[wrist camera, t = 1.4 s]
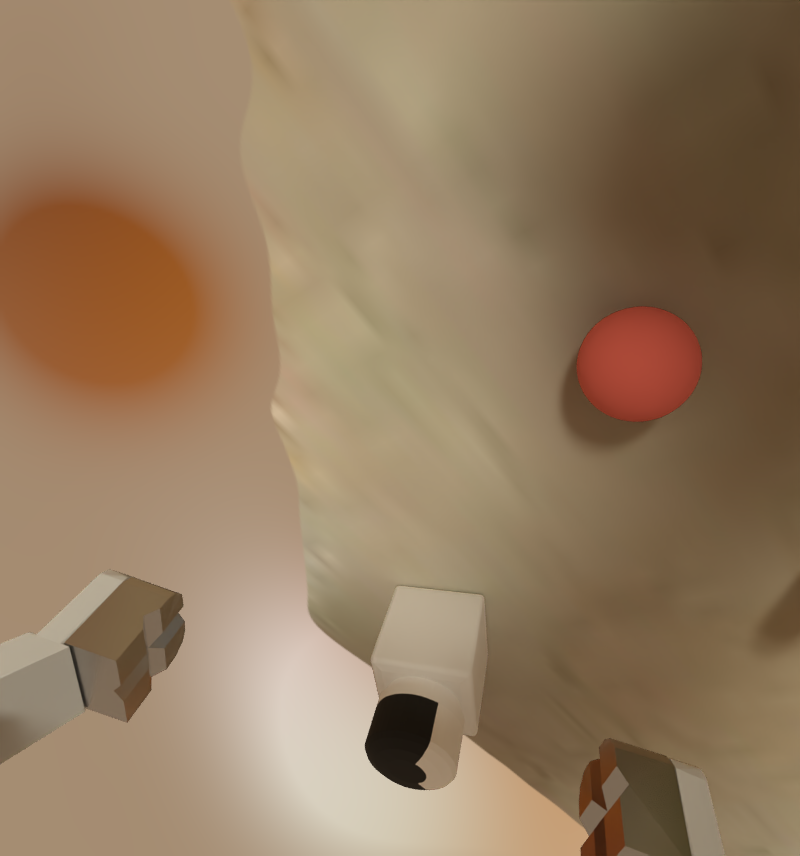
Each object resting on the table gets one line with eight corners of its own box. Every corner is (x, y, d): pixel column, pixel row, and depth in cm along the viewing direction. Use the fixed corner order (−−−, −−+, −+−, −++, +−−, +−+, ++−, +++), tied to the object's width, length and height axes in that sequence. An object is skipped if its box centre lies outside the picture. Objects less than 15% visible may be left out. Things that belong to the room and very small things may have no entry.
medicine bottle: (405, 642, 46) (362, 790, 36) (395, 583, 42) (344, 727, 32) (488, 654, 44) (467, 814, 34) (484, 592, 40) (459, 750, 30)
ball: (597, 280, 27) (603, 315, 23) (709, 306, 26) (740, 348, 22) (561, 376, 30) (561, 424, 26) (661, 402, 29) (680, 456, 25)
